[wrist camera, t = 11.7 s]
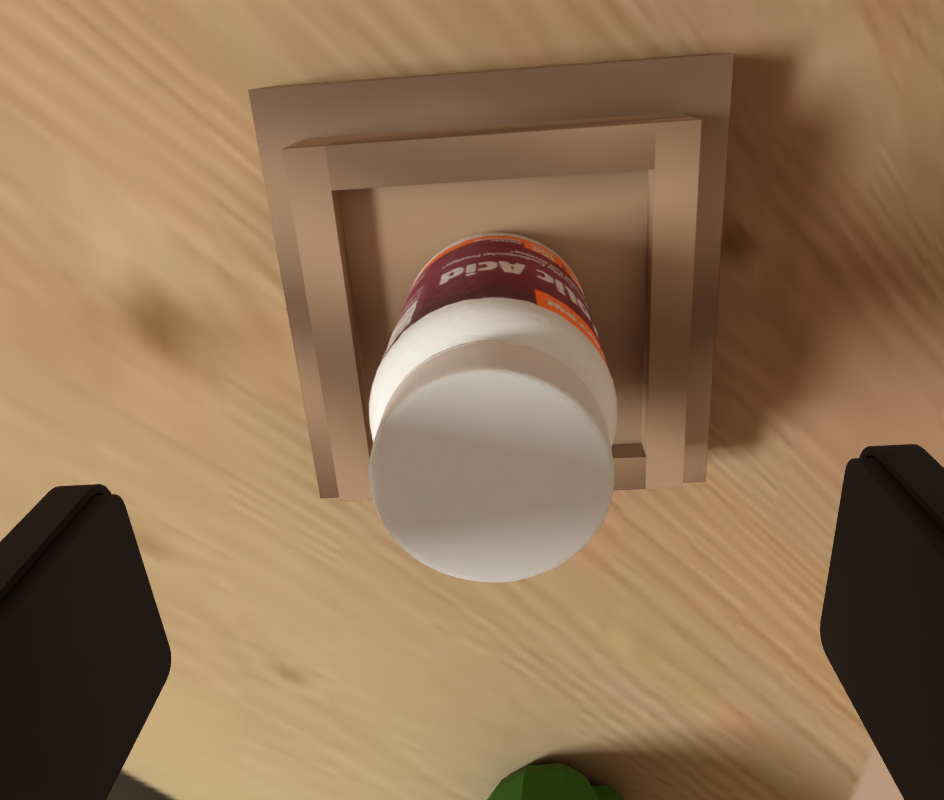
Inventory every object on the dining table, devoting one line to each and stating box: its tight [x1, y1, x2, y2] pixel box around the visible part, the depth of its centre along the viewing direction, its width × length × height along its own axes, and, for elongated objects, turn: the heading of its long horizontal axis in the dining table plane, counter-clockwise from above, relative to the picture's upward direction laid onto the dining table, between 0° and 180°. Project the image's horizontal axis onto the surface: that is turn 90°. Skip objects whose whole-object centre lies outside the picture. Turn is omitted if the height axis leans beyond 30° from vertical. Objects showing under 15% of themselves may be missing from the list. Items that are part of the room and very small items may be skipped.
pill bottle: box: [369, 233, 618, 582], centre depth 16 cm, size 5×5×8 cm
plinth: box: [249, 54, 734, 502], centre depth 21 cm, size 12×12×4 cm
